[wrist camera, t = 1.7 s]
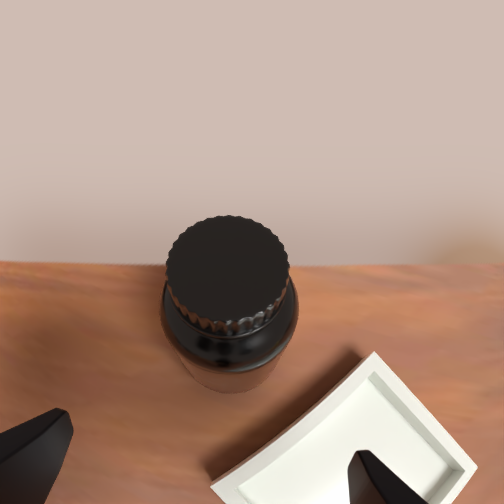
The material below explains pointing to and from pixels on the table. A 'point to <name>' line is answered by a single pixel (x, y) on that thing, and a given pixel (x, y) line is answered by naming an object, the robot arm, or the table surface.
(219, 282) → the supplement bottle
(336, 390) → the ceramic tray
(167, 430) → the table surface
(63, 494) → the table surface
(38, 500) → the robot arm
